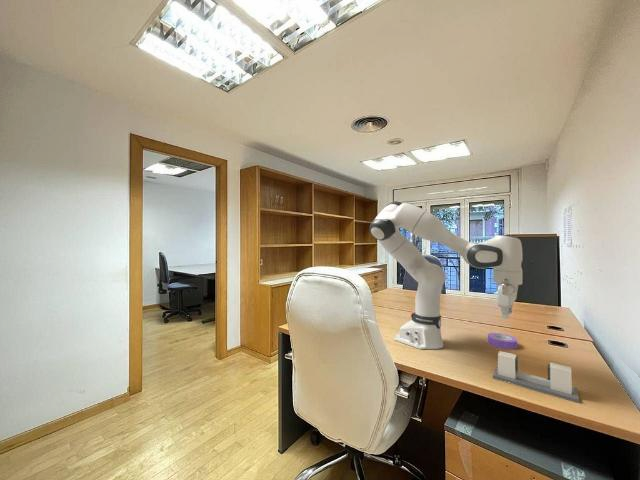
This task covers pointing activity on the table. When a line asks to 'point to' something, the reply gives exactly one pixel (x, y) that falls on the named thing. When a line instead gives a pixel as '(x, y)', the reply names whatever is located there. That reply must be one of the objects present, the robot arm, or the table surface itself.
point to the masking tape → (502, 341)
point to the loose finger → (507, 364)
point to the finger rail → (538, 387)
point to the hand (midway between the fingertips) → (507, 315)
